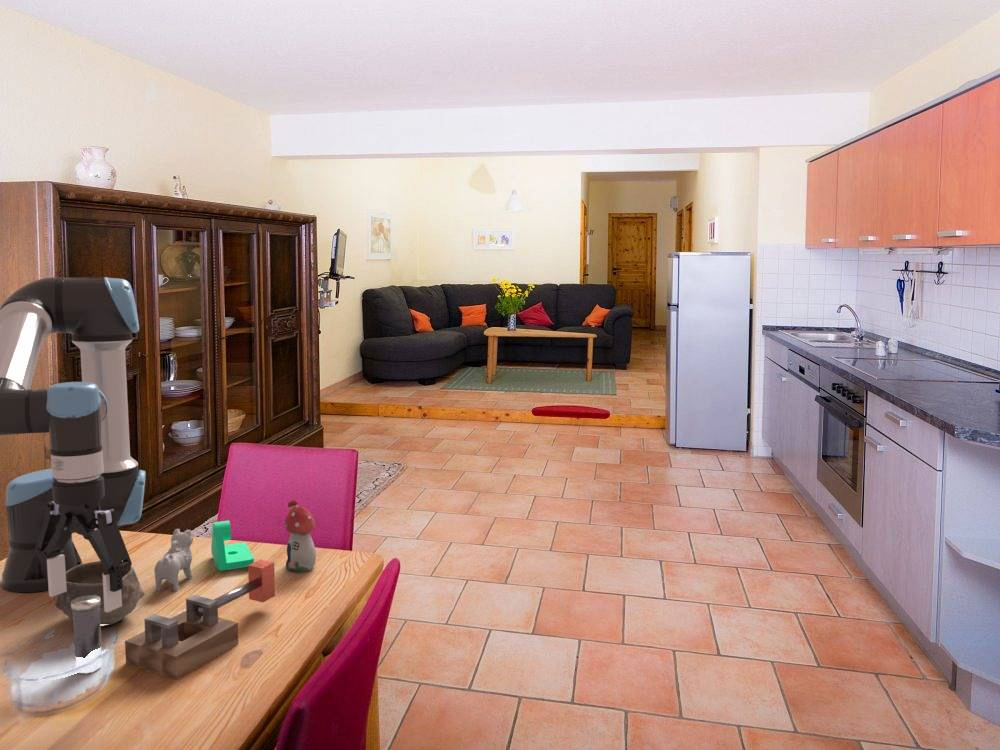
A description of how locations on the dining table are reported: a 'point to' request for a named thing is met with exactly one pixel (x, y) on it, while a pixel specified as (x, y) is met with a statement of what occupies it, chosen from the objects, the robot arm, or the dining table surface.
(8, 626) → the dining table surface
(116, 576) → the robot arm
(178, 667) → the dock block
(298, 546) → the decorative ornament
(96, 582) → the bowl
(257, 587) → the pin
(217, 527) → the camera mount
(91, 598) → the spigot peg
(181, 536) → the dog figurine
